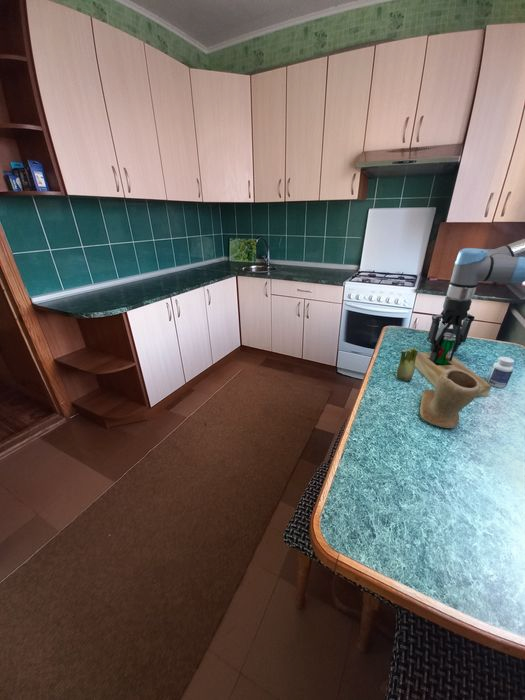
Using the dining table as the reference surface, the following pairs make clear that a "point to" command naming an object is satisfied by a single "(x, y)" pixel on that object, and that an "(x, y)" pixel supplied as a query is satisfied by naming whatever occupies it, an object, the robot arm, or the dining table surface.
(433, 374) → the socket block
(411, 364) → the fennel bulb
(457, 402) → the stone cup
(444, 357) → the soda can
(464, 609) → the dining table surface
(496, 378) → the pill bottle
